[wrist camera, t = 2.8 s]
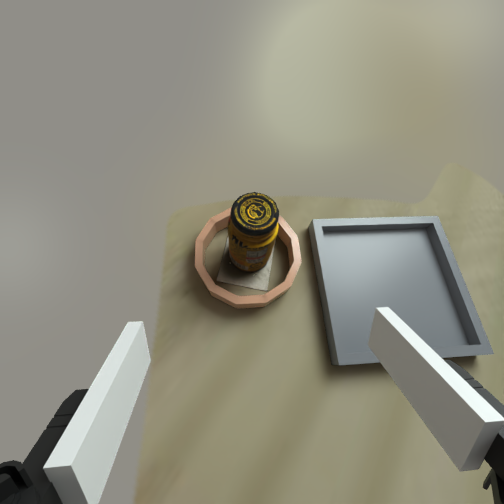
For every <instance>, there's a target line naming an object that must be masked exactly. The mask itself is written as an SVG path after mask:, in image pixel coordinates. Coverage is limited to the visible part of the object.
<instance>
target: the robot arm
mask: <svg viewBox="0 0 504 504" xmlns="http://www.w3.org/2000/svg"><path fill="white" fill-rule="evenodd" d="M368 346H369V348H370V349H371V350H372V352H373V353H374V354H375V356H376V357H377V359H378V360H379V361H380V363H381V364H382V365H383V367H384V368H385V369H386V371H387V372H388V374H389V375H390V376H391V378H392V379H393V380H394V382H395V383H396V385H397V386H398V387H399V389H400V390H401V391H402V393H403V394H404V396H405V397H406V398H407V400H408V401H409V402H410V404H411V405H412V407H413V408H414V409H415V411H416V412H417V413H418V415H419V416H420V417H421V419H422V420H423V422H424V423H425V424H426V426H427V427H428V428H429V430H430V431H431V433H432V434H433V435H434V437H435V438H436V439H437V441H438V442H439V444H440V445H441V446H442V448H443V449H444V450H445V452H446V453H447V455H448V456H449V457H450V459H451V460H452V461H453V463H454V464H455V465H456V467H457V468H458V470H459V471H468V470H477V469H479V468H480V466H481V464H482V462H483V461H484V459H485V460H486V462H487V463H488V464H489V465H490V466H491V467H492V469H491V471H490V472H489V474H488V476H487V477H486V479H485V481H484V483H483V488H484V489H486V490H487V489H488V487H489V485H490V484H491V485H492V491H493V498H494V504H504V405H503V404H502V403H500V402H499V401H498V400H497V399H496V398H495V397H494V396H493V395H492V394H491V393H490V392H488V391H487V390H486V389H484V388H483V386H482V385H481V384H480V383H479V382H478V381H476V380H474V378H473V377H472V376H471V375H470V374H469V373H468V372H467V371H466V370H464V369H463V368H462V367H460V366H459V365H457V364H455V363H454V362H452V361H451V360H443V359H442V358H441V357H440V356H439V355H438V354H437V353H436V352H435V351H434V350H433V349H432V348H431V347H429V346H428V345H427V344H426V343H425V342H424V341H423V340H422V339H421V338H420V337H419V336H418V335H417V334H416V333H415V332H414V331H413V330H412V329H411V328H410V327H409V326H408V325H407V324H406V323H404V322H403V321H402V320H401V319H400V318H399V317H398V316H397V315H396V314H395V313H394V312H393V311H392V310H391V309H390V308H389V307H379V308H376V309H375V314H374V318H373V323H372V327H371V332H370V337H369V341H368ZM150 361H151V359H150V354H149V349H148V344H147V339H146V335H145V330H144V325H143V321H140V322H128V323H127V325H126V327H125V328H124V330H123V332H122V334H121V335H120V337H119V339H118V340H117V342H116V344H115V346H114V347H113V349H112V351H111V352H110V354H109V356H108V357H107V359H106V361H105V363H104V364H103V366H102V368H101V370H100V371H99V373H98V375H97V376H96V378H95V380H94V382H93V383H92V385H91V387H90V388H89V389H82V390H75V391H74V392H73V393H72V394H71V395H70V396H69V397H68V398H67V399H66V400H65V401H64V402H63V403H62V404H61V406H60V407H59V409H58V410H57V412H56V414H55V415H54V418H52V420H51V421H50V423H49V424H48V426H47V429H46V430H44V432H43V433H42V435H41V436H40V438H39V440H38V441H37V443H36V444H35V445H34V447H33V448H32V450H31V452H30V453H29V455H28V456H27V458H26V459H25V461H24V462H23V464H22V463H21V462H18V461H14V460H13V461H8V462H3V463H1V464H0V504H98V503H99V500H100V498H101V495H102V492H103V490H104V487H105V484H106V481H107V479H108V476H109V473H110V470H111V468H112V465H113V462H114V460H115V457H116V454H117V451H118V449H119V446H120V443H121V440H122V438H123V435H124V432H125V430H126V427H127V424H128V421H129V418H130V416H131V413H132V410H133V408H134V405H135V402H136V399H137V397H138V394H139V391H140V389H141V386H142V383H143V380H144V378H145V375H146V372H147V369H148V367H149V364H150Z"/></svg>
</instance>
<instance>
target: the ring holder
mask: <svg viewBox="0 0 504 504" xmlns="http://www.w3.org/2000/svg"><path fill="white" fill-rule="evenodd" d="M231 208H232V207H231ZM231 208H229V209H227V210H225V211H224V212H222V213H220V214H218V215H216V216H214V217H212V218H210V219H209V221H208V222H207V224H206V225H205V227H204V228H203V230H202V231H201V233H200V234H199V236H198V237H197V239H196V243H195V268H196V270H197V272H198V274H199V276H200V277H201V279H202V281H203V282H204V284H205V286H206V287H207V289H208V290H209V292H210V294H211V296H213V297H215V298H217V299H219V300H221V301H223V302H225V303H227V304H229V305H231V306H233V307H234V308H254V307H265V306H266V305H268V304H269V303H271V302H272V301H274V300H275V299H277V298H278V297H280V296H281V295H283V294H284V293H286V292H287V291H288V290H289V288H290V287H291V285H292V283H293V280H294V278H295V276H296V274H297V271H298V269H299V267H300V265H301V262H302V261H301V254H300V248H299V241H298V236H297V235H296V234H295V233H294V231H293V230H292V229H291V228H290V226H289V225H288V224H287V223H286V221H285V220H284V219H283V218H282V217H281V216H279V218H278V219H279V220H278V226H279V229H278V234H277V235H278V236H279V237H280V238H281V240H282V241H283V242H284V244H285V245H286V246H287V249H288V257H289V265H290V269H289V271H288V273H287V275H286V277H285V279H284V282H283V283H281V284H280V285H278V286H277V287H275V288H274V289H272V290H271V291H269V292H268V293H266V294H265V295H252V296H237V295H235V294H233V293H231V292H229V291H227V290H225V289H223V288H221V287H219V286H217V285H215V283H214V282H213V280H212V279H211V277H210V275H209V274H208V272H207V271H206V269H205V250H206V248H207V247H208V245H209V244H210V242H211V241H212V239H213V237H214V236H215V234H216V233H217V232H219V231H220V230H222V229H224V228H226V227H228V221H229V218H230V216H231V214H230V212H231Z"/></svg>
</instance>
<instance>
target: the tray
mask: <svg viewBox="0 0 504 504" xmlns="http://www.w3.org/2000/svg"><path fill="white" fill-rule="evenodd" d="M308 229H309V234H310V240H311V246H312V252H313V258H314V264H315V270H316V276H317V281H318V287H319V293H320V299H321V305H322V311H323V317H324V323H325V328H326V334H327V340H328V346H329V352H330V358H331V364H332V365H350V364H364V363H378V362H380V361H379V360H378V359H377V357H376V356H375V354H374V353H373V352H372V350H371V349H370V348H369V346H368V341H369V337H370V332H371V327H372V323H373V318H374V314H375V309H376V308H379V307H389V308H390V309H391V310H392V311H393V312H394V313H395V314H396V315H397V316H398V317H399V318H400V319H401V320H402V321H403V322H404V323H406V324H407V325H408V326H409V327H410V328H411V329H412V330H413V331H414V332H415V333H416V334H417V335H418V336H419V337H420V338H421V339H422V340H423V341H424V342H425V343H426V344H427V345H428V346H429V347H431V348H432V349H433V350H434V351H435V352H436V353H437V354H438V355H439V356H440V357H441V358H447V357H460V356H474V355H488V354H494V353H493V350H492V348H491V345H490V343H489V340H488V338H487V336H486V333H485V331H484V328H483V326H482V323H481V321H480V318H479V316H478V313H477V311H476V309H475V306H474V304H473V301H472V299H471V296H470V294H469V291H468V289H467V286H466V284H465V282H464V279H463V277H462V274H461V272H460V269H459V267H458V264H457V262H456V259H455V257H454V254H453V252H452V250H451V247H450V245H449V242H448V240H447V237H446V235H445V232H444V230H443V227H442V225H441V223H440V220H439V218H438V216H418V217H381V218H343V219H313V220H312V221H311V223H310V225H309V227H308Z"/></svg>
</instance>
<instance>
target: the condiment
mask: <svg viewBox="0 0 504 504" xmlns="http://www.w3.org/2000/svg"><path fill="white" fill-rule="evenodd" d="M230 214H231V216H230V218H229V221H228V238H227V242H226V246H225V250H224V254H223V257H222V261H221V265H220V269H219V273H218V277H217V281H221V282H225V283H229V284H234V285H239V286H244V287H249V288H254V289H259V290H265V291H267V288H268V282H269V276H270V270H271V264H272V258H273V252H274V246H275V240H276V237H277V234H278V229H279V226H278V220H279V219H278V218H279V210H278V208H277V205H276V203H275V202H274V201H273V200H272V199H271V198H270V197H268V196H267V195H264V194H260V193H256V192H253V193H247V194H245V195H242V196H240V197H239V198H238V199H237V200H236V201H235V202H234V203H233V206H232V208H231V212H230ZM256 272H257V274H256V275H255V276H253V275H254V274H255V273H256Z"/></svg>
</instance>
